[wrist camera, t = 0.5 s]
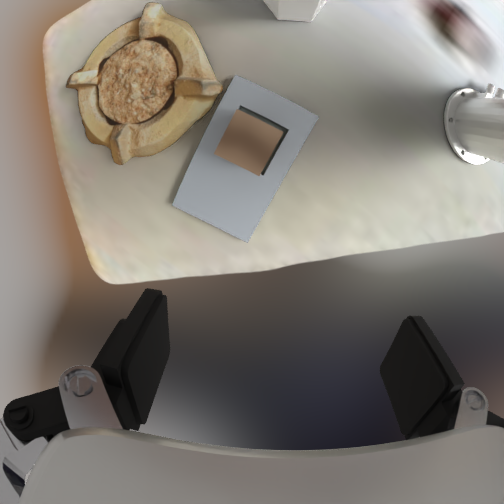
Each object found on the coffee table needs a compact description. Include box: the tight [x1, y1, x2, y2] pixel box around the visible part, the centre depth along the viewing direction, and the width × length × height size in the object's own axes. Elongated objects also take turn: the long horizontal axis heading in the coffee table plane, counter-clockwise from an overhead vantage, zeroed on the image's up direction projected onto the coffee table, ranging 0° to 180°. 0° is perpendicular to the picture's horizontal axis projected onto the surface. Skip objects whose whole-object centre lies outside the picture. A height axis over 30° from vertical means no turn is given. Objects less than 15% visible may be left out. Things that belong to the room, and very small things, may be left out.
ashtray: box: [66, 2, 223, 165], centre depth 31 cm, size 24×24×5 cm
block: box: [214, 109, 284, 176], centre depth 32 cm, size 6×6×8 cm
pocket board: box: [172, 75, 319, 243], centre depth 36 cm, size 20×12×2 cm, turn 153°
